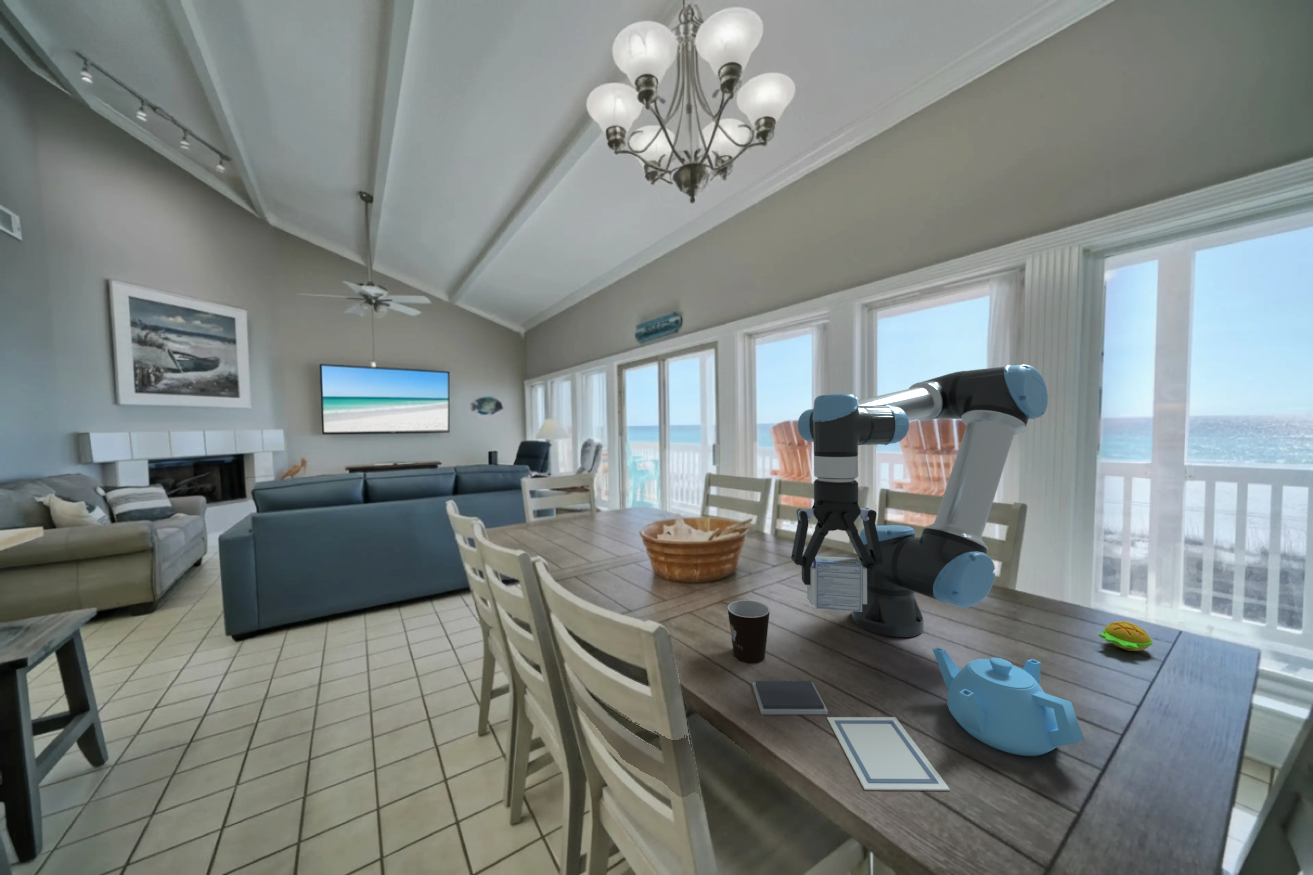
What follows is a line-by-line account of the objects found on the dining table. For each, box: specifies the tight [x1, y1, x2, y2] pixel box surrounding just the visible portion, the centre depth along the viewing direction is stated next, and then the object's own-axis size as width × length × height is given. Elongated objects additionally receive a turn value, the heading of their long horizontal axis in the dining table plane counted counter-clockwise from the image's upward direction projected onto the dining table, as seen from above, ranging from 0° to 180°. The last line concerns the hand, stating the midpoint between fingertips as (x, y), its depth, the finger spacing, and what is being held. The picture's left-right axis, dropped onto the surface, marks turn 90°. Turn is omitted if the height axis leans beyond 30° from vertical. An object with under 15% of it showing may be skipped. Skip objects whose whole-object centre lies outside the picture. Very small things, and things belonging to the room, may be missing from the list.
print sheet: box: [826, 716, 951, 792], centre depth 64 cm, size 11×14×1 cm
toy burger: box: [1098, 620, 1153, 652], centre depth 90 cm, size 7×10×5 cm
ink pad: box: [752, 680, 829, 715], centre depth 77 cm, size 11×8×1 cm
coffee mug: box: [727, 599, 771, 665], centre depth 93 cm, size 12×9×10 cm
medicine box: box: [812, 555, 862, 612], centre depth 80 cm, size 8×4×9 cm, turn 76°
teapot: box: [932, 646, 1085, 757], centre depth 68 cm, size 15×15×11 cm
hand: (836, 601), depth 81 cm, fingers closed on medicine box, 8 cm apart
